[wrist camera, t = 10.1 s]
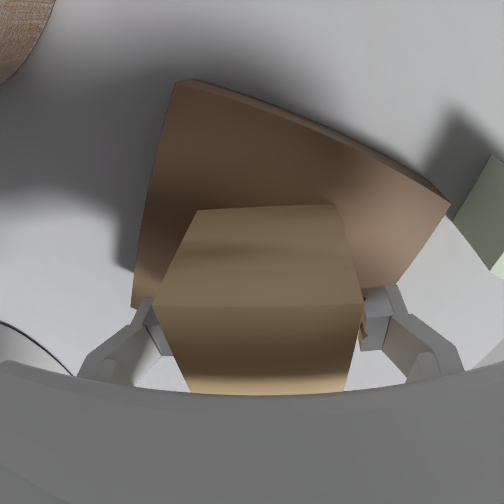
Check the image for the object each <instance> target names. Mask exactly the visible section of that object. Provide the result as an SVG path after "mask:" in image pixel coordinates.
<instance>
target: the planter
mask: <svg viewBox="0 0 504 504" xmlns="http://www.w3.org/2000/svg"><path fill="white" fill-rule="evenodd" d="M54 3H55V0H0V84H2V83H3V82H5V81H6V80H7V79H9V78H10V77H11V76H12V75H13V74H14V73H15V72H16V71H17V70H18V69H19V68H20V67H21V65H22V64H23V63H24V62H25V60H26V59H27V57H28V56H29V55H30V53H31V52H32V50H33V48H34V47H35V45H36V43H37V41H38V40H39V38H40V36H41V34H42V32H43V30H44V28H45V26H46V24H47V21H48V19H49V17H50V14H51V11H52V9H53V6H54Z"/></svg>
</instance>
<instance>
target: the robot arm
mask: <svg viewBox="0 0 504 504" xmlns="http://www.w3.org/2000/svg"><path fill="white" fill-rule="evenodd" d="M360 289H361V293H362V296H363V300H364V307H363V312H362V317H361V321H360V326H359V335H358V340H359V345H360V350H361V351H372V350H382V351H383V352H384V353H385V354H386V355H387V356H388V357H389V358H390V360H391V361H392V362H393V363H394V364H395V365H396V366H397V367H398V368H399V369H400V370H401V372H402V373H403V374H404V375H405V376H406V377H407V380H406V382H405V384H399V385H393V386H386V387H378V388H371V389H362V390H353V391H343V392H331V393H317V394H298V395H221V394H202V393H187V392H176V391H165V390H156V389H148V388H140V387H135V386H134V385H135V384H136V383H137V382H138V381H139V380H140V379H141V378H142V377H143V376H144V375H145V374H146V373H147V372H148V371H149V370H150V369H151V368H152V366H153V365H154V364H155V363H156V362H157V361H158V360H159V359H160V358H161V357H162V356H173V354H172V352H171V349H170V347H169V345H168V343H167V341H166V338H165V336H164V334H163V332H162V329H161V327H160V325H159V322H158V320H157V318H156V315H155V313H154V310H153V308H152V302H153V300H154V298H155V297H145V298H143V300H142V302H141V304H140V306H139V308H138V310H137V312H136V314H135V316H134V318H133V320H132V322H131V324H130V325H126V326H125V327H124V328H122V329H121V330H120V331H118V332H117V333H116V334H114V335H113V336H112V337H110V338H109V339H108V340H106V341H105V342H104V343H102V344H101V345H100V346H98V347H97V348H96V349H94V350H93V351H92V352H90V353H89V354H88V355H87V356H86V358H85V360H84V362H83V364H82V366H81V368H80V370H79V372H78V374H77V377H75V376H71V375H70V374H69V373H68V372H67V371H66V370H65V369H64V368H63V367H62V366H61V365H60V364H59V363H58V362H57V361H56V360H55V359H54V358H52V357H51V356H50V355H49V354H48V353H46V352H45V351H44V350H43V349H41V348H40V347H39V346H37V345H36V344H35V343H33V342H32V341H31V340H29V339H28V338H26V337H25V336H23V335H22V334H20V333H18V332H17V331H15V330H13V329H11V328H9V327H7V326H4V325H1V324H0V504H504V361H501V362H498V363H494V364H491V365H487V366H483V367H480V368H476V369H472V370H468V371H465V370H464V368H463V365H462V362H461V359H460V357H459V354H458V352H457V349H456V347H455V346H454V345H453V344H452V343H451V342H449V341H448V340H447V339H445V338H444V337H443V336H441V335H440V334H439V333H437V332H436V331H435V330H433V329H432V328H431V327H429V326H428V325H427V324H425V323H424V322H423V321H421V320H420V319H419V318H417V317H416V316H415V315H413V314H408V311H407V309H406V306H405V303H404V301H403V298H402V296H401V293H400V291H399V288H398V286H397V285H396V284H390V285H383V286H372V287H361V288H360Z"/></svg>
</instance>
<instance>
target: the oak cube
mask: <svg viewBox="0 0 504 504" xmlns="http://www.w3.org/2000/svg"><path fill="white" fill-rule="evenodd" d="M363 307H364V300H363V296H362V293H361V289H360V285H359V281H358V278H357V274H356V271H355V267H354V264H353V260H352V257H351V253H350V250H349V247H348V243H347V240H346V237H345V233H344V230H343V227H342V224H341V221H340V218H339V215H338V212H337V209H336V206H335V204H334V205H294V206H268V207H246V208H227V209H210V210H197V212H196V214H195V216H194V218H193V220H192V222H191V224H190V226H189V228H188V230H187V232H186V234H185V236H184V238H183V240H182V242H181V244H180V246H179V248H178V250H177V252H176V254H175V256H174V258H173V260H172V262H171V264H170V266H169V268H168V270H167V272H166V275H165V277H164V279H163V281H162V283H161V285H160V287H159V289H158V292H157V294H156V296H155V298H154V300H153V302H152V308H153V310H154V313H155V315H156V318H157V320H158V322H159V325H160V327H161V329H162V332H163V334H164V336H165V338H166V341H167V343H168V345H169V347H170V349H171V352H172V354H173V356H174V358H175V360H176V362H177V364H178V367H179V369H180V371H181V373H182V375H183V377H184V379H185V381H186V383H187V385H188V387H189V389H190V391H191V393H202V394H221V395H298V394H317V393H331V392H343V390H344V387H345V383H346V379H347V376H348V372H349V368H350V364H351V360H352V356H353V352H354V348H355V344H356V339H357V335H358V331H359V326H360V321H361V317H362V312H363Z"/></svg>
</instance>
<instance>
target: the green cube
mask: <svg viewBox="0 0 504 504" xmlns="http://www.w3.org/2000/svg"><path fill="white" fill-rule="evenodd" d="M452 222H453V224H454V225H455V226H456V227H457V229H458V230H459V231H460V232H461V234H462V235H463V236H464V237H465V239H466V240H467V241H468V242H469V244H470V245H471V246H472V248H473V249H474V250H475V252H476V253H477V254H478V256H479V257H480V258H481V260H482V261H483V263H484V264H485V265H486V267H487V268H488V270H489V271H490V272H492V273H493V274H495V275H497V276H498V277H500V278H501V279H503V280H504V162H502V161H501V160H499V159H497V158H496V157H494V156H493V155H491V156H490V158H489V160H488V162H487V164H486V166H485V167H484V169H483V171H482V173H481V175H480V176H479V178H478V180H477V182H476V183H475V185H474V187H473V188H472V190H471V192H470V193H469V195H468V197H467V198H466V200H465V202H464V203H463V205H462V206H461V208H460V210H459V211H458V213H457V214H456V216H455V217H454V219H453V221H452Z"/></svg>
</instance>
